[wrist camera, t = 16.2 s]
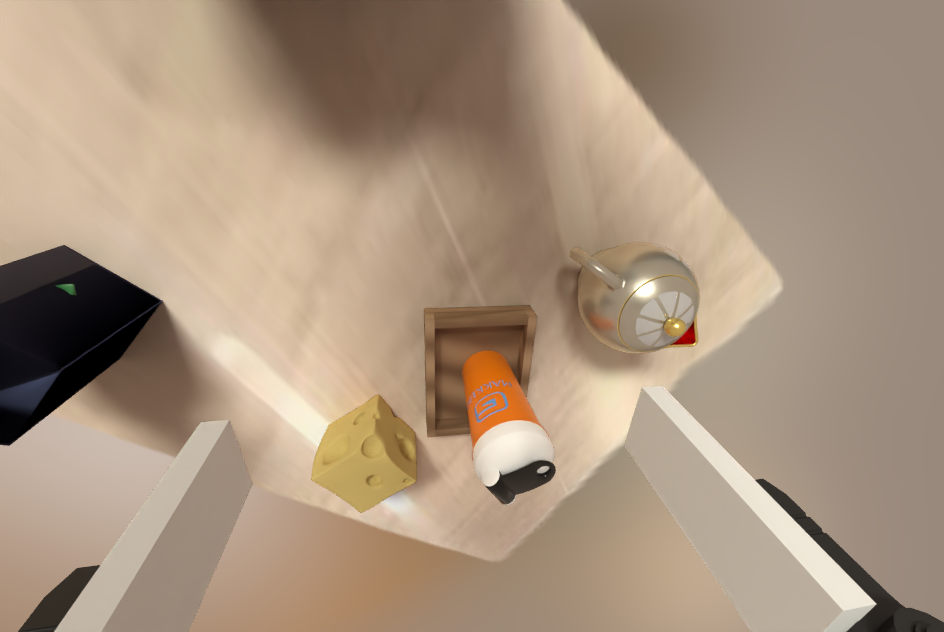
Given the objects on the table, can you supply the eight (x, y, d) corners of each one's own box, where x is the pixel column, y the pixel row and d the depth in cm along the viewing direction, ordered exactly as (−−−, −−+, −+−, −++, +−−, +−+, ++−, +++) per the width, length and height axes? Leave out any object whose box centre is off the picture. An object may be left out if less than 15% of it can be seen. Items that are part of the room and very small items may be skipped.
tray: (423, 308, 50) (425, 320, 46) (529, 305, 52) (537, 316, 49) (426, 420, 59) (427, 437, 55) (516, 413, 61) (522, 428, 58)
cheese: (378, 391, 55) (372, 441, 46) (419, 433, 60) (421, 485, 51) (322, 425, 56) (307, 479, 47) (367, 463, 61) (360, 519, 52)
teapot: (671, 265, 53) (770, 315, 38) (607, 335, 57) (675, 404, 42) (586, 191, 46) (668, 218, 32) (520, 277, 50) (566, 336, 35)
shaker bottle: (525, 369, 56) (580, 479, 38) (480, 403, 57) (513, 524, 40) (490, 333, 52) (533, 437, 34) (443, 370, 53) (460, 488, 36)
